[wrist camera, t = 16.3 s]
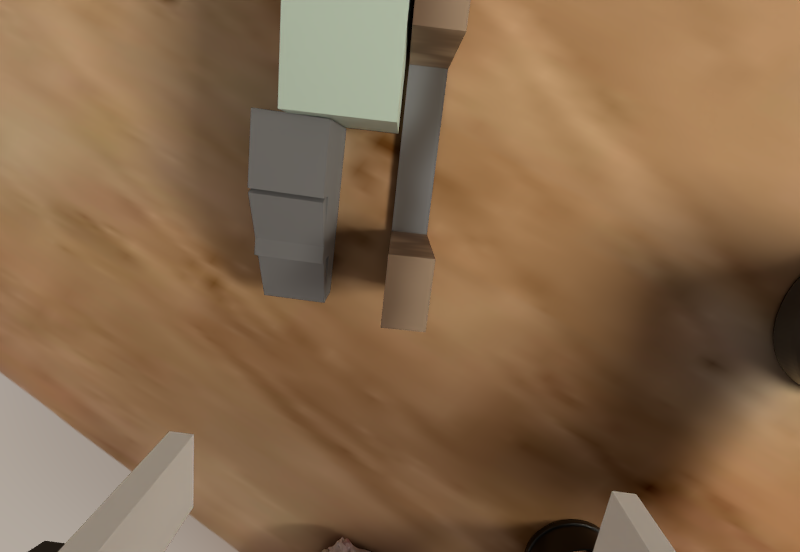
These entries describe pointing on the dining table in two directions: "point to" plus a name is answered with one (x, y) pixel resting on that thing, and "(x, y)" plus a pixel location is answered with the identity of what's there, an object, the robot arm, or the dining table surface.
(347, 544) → the food item
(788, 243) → the dining table surface
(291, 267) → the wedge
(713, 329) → the dining table surface
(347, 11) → the pale green box
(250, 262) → the dining table surface
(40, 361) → the dining table surface
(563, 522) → the french press
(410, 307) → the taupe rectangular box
